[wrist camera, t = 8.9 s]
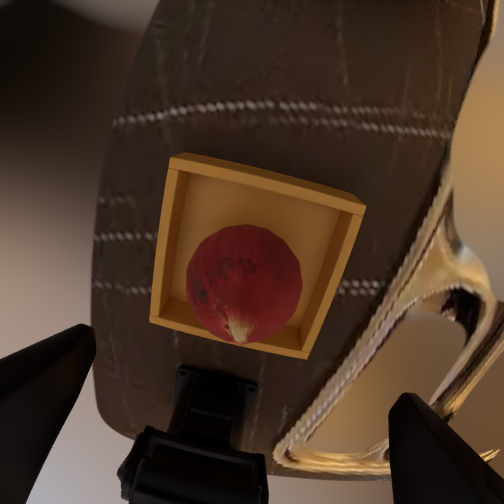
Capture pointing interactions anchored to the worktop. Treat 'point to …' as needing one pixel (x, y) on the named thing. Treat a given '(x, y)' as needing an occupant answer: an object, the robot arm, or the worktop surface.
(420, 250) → the worktop surface
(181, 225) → the amber tray
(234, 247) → the onion
